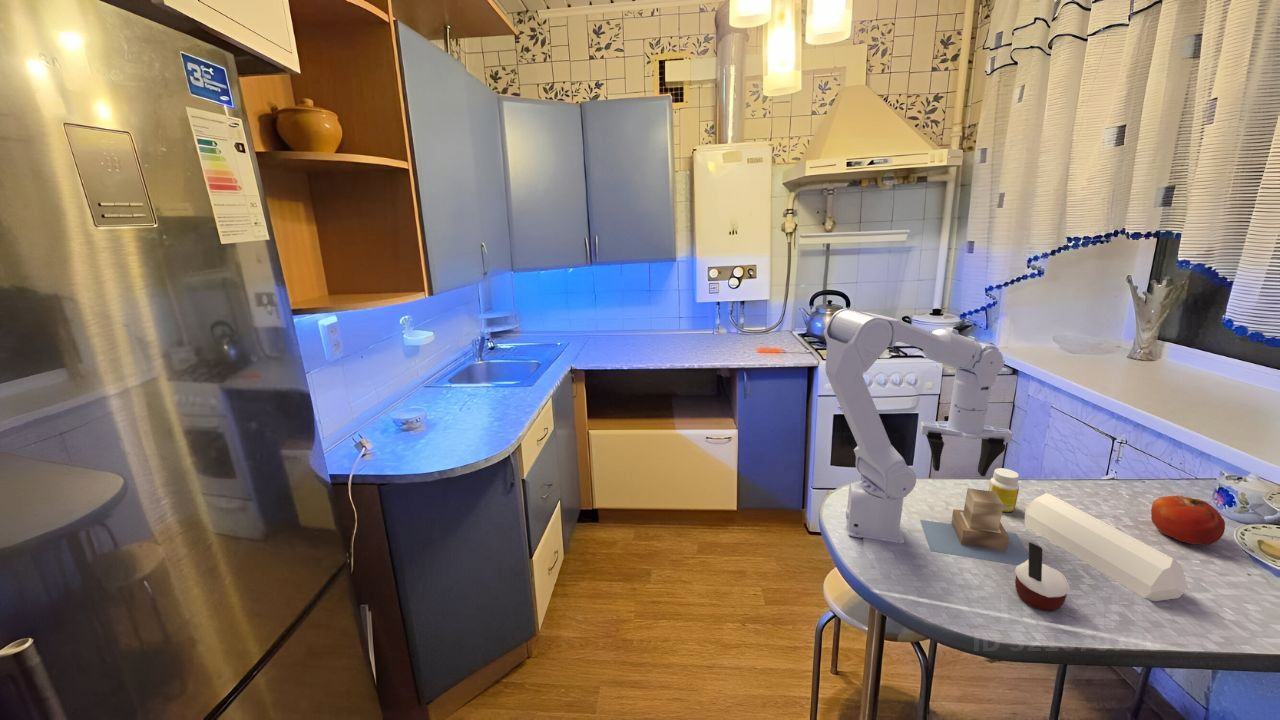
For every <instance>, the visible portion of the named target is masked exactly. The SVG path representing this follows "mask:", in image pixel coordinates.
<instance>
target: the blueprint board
mask: <svg viewBox="0 0 1280 720" xmlns="http://www.w3.org/2000/svg"><path fill="white" fill-rule="evenodd" d="M919 521H920V524H921V528H922V530H923V534H924V536H925V539H926V542H927V544H928V545H927V546H928V548H929V550H930V552H934V553H939V554H946V555H947V554H948V555H952V556H958V557H963V558H965V557H966V558H971V559H977V560H982V561H989V562H996V563H1003V564H1009V565H1014V566H1018V565H1020V564H1022V563H1024V562H1025V561H1027V560H1028V559H1029V550H1028V549H1027V548H1026V547H1025V545H1024V543H1023V542H1022V541H1021V539H1020V537H1019V535H1018V534H1017V533H1016V532H1009V531H1006V532H1007V534H1008V536H1009V541H1008V546H1007V551H999V550H993V549H986V548H980V547H974V546H967V545H961V544H960V542H959V539H958V537H957V535H956V532H955V530H954V528H953V526H952V523H947V522H938V521H933V520H925V519H919Z"/></svg>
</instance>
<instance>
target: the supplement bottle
mask: <svg viewBox="0 0 1280 720" xmlns="http://www.w3.org/2000/svg"><path fill="white" fill-rule="evenodd" d="M1019 478H1020V474H1019V473H1018V472H1016V471H1014V470H1012V469H1009V468H1003V467H999V468H995V469H994V471H993V477H991V478H990V480H989V484H988V485H989V486H988V490H987V491H993V492H996V494H997V495H998V497H999V498H1000V500H1001V501H1002V503H1003V504H1004V505H1003V510H1002V515H1009V516H1010V515H1013V514H1014V513H1015V510H1016V506H1017V500H1018V495H1019V491H1020V485H1019V483H1018V482H1019V480H1020V479H1019Z"/></svg>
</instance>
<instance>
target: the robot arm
mask: <svg viewBox="0 0 1280 720" xmlns="http://www.w3.org/2000/svg"><path fill="white" fill-rule="evenodd" d="M823 336H824V339H825V342H826V354H825V374H826V377H827V379H828V382H829V384H830V386H831V387H832V390H833V392H834V393H833V394H834V395H835V397H836V399H837V401H838V404H839V406H840V409H841V410H842V413H843V415H844V418H845V420H846V422H847V425H848V427H849V430H850V431H851V433H852V436H853V438H854V440H855V442H856V445H857V446H856V447H855V448H854V449H853V452H854V455H855V469H856V471H857V472H858V473H859V474H860V481H861V482H855V483H854V482H853V483H851V482H850V483H849V486H848V487H849V488H848V496H847V508H846V509H845V510H846V512H845V519H846V522H847V525H846V526H847V534H848V535H849V536H850V537H854V538H860V539H861V538H862V539H864V538H868V539H873V540H874V539H875V540H880V541H885V542H892V543H897V544H899V543H900V544H905V540H904V535H903V532H902V528H901V522H902V521H901V520H902V512H903V504H904V498H907V496H908V495H909V494H910V493H911V492H912V491H913V490H914V489H915V486H916V484H917V474H916V472H915V471H914V469H913V468H911V466H910V467H909V465H907V464H906V461H905V459H904V457H903V456H902V455H901V454H900V453H899V452H898V451H897V449H896V448H895V447H894V446H893V445H892V444H891V441H890V438H889V437H888V434H887V431H886V429H885V426H884V423H883V422H882V419H881V416H880V414H879V412H878V410H877V407H876V405H875V402H874V399H873V397H872V395H871V392H870V389H869V387H868V385H867V383H866V381H865V378H864V373H866V372H868V370H869V369H871V367H872V366H873V365H874V364H875V362H876V361H877V360H879V358H880V357H881V356H882V354H883V353H885V351H886V350H887V348H888V347H890V348H893V347H894V346H896V343H897V342H899V343H902V344H905V345H909V346H912V347H916V348H918V349H922V353H923V354H924V356H925V357H926V358H927V359H928V360H930V361H932V362H933V361H934V362H937V363H939V364H942V365H945V366H948V367H952V369H955V372H954V373H955V374H954V380H953V387H952V393H951V398H950V399H951V400H950V406H949V414H948V420H947V421H946V420H944V421H920V426H919V427H920V428H919V431H920V434H921V435H923V436H924V435H925V436H926V439H927V441H928V444H929V449H930V453H931V458H932V467H933V470H934V471H936V472H939V471H940V469H941V459H942V458H941V457H942V452H943V449H944V446H945V442H944V441H943V439H944V437H943V436H949V437H958V438H964V439H968V440H977V439H981V443H980V445H981V446H980V455H979V460H978V464H977V472H978V474H979V475H980V477H986V476H987V474H988V471H989V470H990V467H991V466H992V464H993V463H994V461H996V459H997V458H998V457H999V456H1001V454H1003V453H1004V452H1005V450H1006V443H1008V444H1011V443H1012V438H1013V432H1012V431H1011V430H1010V429H1009V428H1002V427H995V426H989V425H986V419H987V414H988V413H987V412H988V408H989V402H990V397H991V396H990V395H991V389H992V386H994V384H995V383H996V380H997V376H998V375H999V373H1000V372H1001V371H1002V370H1003V368H1004V366H1005V363H1006V361H1005V360H1004V358H1003V354H1002V352H1001V351H1000V349H999V348H998V347H997V346H995V345H994V346H993V345H991V344H986V343H984V342H980V341H979V338H977V337H974V336H971V335H968V336H964V335H961V334H959V330H958V329H956V328H951V327H946V328H938V329H935V330H933V331H928V330H925V329H923V328H920V327H918V326H916V325H913V324H911V323H908V322H905V321H903V320H900V319H897V318H894V317H890V316H886V315H880V314H876V313H871V312H866V311H859V312H858V311H855V310H854V309H852V308H841V309H839V310H837V311H836V312H834V313H833V315H832V316H831V317H830V319H829V320H828V322H827V325H826V326H825V328H824V330H823ZM894 348H895V347H894Z"/></svg>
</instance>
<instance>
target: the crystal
mask: <svg viewBox="0 0 1280 720" xmlns="http://www.w3.org/2000/svg"><path fill="white" fill-rule="evenodd" d="M1024 526H1025V527H1027V528H1029V529H1030V530H1031V531H1034V532H1035V533H1036V534H1038V535H1040V536H1041V537H1044V538H1045V539H1047V540H1048V541H1050V542H1052V543H1053V544H1054V545H1056V546H1058V547H1060V548H1061V549H1063V550H1065V551H1066V552H1068V553H1070V554H1071V555H1073V556H1074V557H1075V558H1078V560H1081V561H1083V562H1084V563H1086V564H1087V565H1089V566H1090V567H1092V568H1094V569H1095V570H1097V571H1099V572H1100V573H1102V574H1103V575H1105V576H1107V577H1109V578H1110V579H1112V580H1113V581H1115V582H1117V583H1118V584H1120V585H1121V586H1123V587H1125V588H1127V589H1128V590H1130V591H1131V592H1133V593H1135V594H1136V595H1138V596H1139V597H1141V598H1143V599H1148V601H1152V602H1158V601H1166V600H1172V599H1173V600H1174V599H1179V598H1181V596H1182V595H1183V594H1184V593H1185V591H1186V590H1187V589H1188V587H1189V585H1188V582H1187V580H1186V575H1185V573H1184V569H1183V566H1182V565H1181V563H1179V562H1178V561H1177V560H1175V559H1174V558H1173V557H1170V556H1169V555H1167V554H1165V553H1164V552H1161V551H1159V550H1158V549H1156V548H1154V547H1152V546H1150V545H1148V544H1146V543H1144V542H1142V541H1141V540H1138V539H1136V538H1134V537H1133V536H1130V535H1129V534H1127V533H1125V532H1123V531H1121V530H1119V529H1117V528H1115V527H1114V526H1111V525H1109V524H1107V523H1105V522H1103V520H1099V519H1098V518H1096V517H1094V516H1092V515H1090V514H1088V513H1087V512H1084V511H1083V510H1081V509H1079V508H1077V507H1075V506H1073V505H1071V504H1069V503H1067V502H1066V501H1063V500H1061V499H1059V498H1058V497H1056V496H1054V495H1052V494H1050V493H1048V492H1046V493H1044V494H1042V495H1040V496H1038V497H1034V499H1032V500H1031V501H1030V502H1029V503H1028V504H1027V506H1026V507H1025V511H1024Z"/></svg>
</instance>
